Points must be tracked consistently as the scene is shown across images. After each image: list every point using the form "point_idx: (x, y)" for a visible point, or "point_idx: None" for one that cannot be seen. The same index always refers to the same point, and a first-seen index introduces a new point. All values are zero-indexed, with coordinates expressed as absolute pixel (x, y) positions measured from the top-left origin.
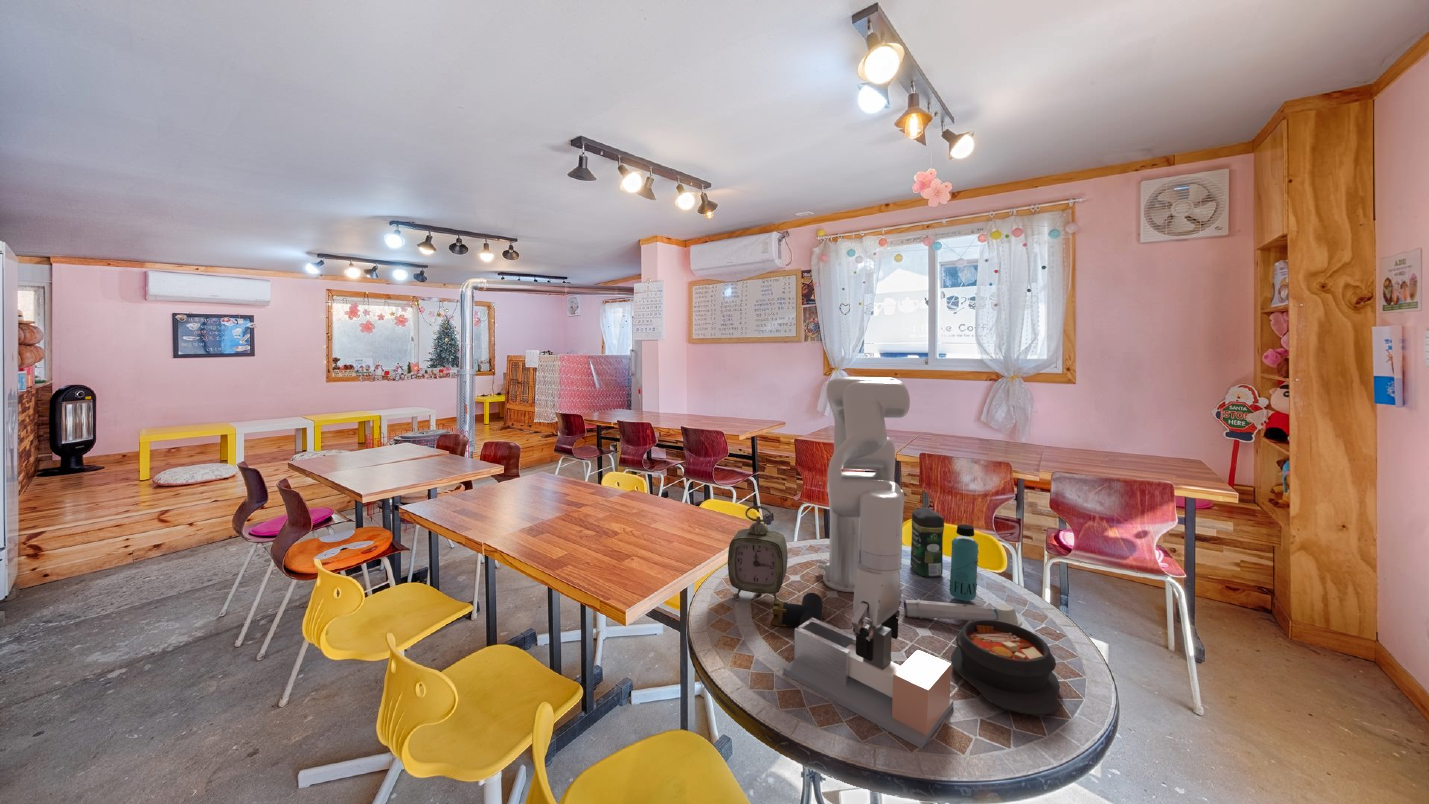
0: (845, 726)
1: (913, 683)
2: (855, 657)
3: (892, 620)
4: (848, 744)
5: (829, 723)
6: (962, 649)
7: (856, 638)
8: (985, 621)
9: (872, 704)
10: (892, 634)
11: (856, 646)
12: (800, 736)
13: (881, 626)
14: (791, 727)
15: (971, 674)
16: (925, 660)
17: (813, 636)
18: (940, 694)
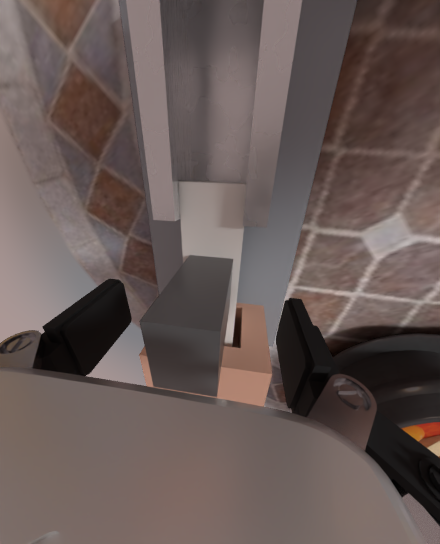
0: (122, 242)
1: (146, 382)
2: (187, 232)
3: (290, 393)
4: (100, 260)
5: (105, 220)
6: (384, 392)
7: (65, 312)
8: None
9: (178, 264)
10: (279, 340)
11: (92, 293)
12: (47, 198)
13: (209, 369)
14: (44, 173)
15: (351, 363)
16: (236, 389)
17: (137, 14)
18: None
